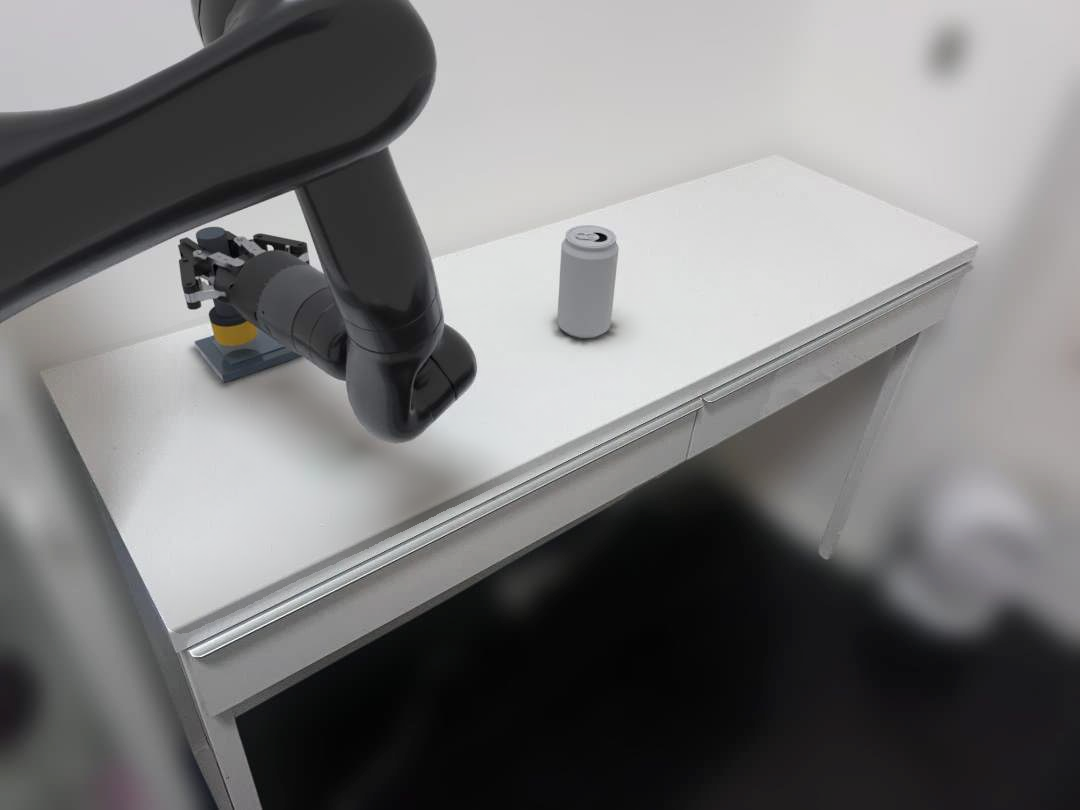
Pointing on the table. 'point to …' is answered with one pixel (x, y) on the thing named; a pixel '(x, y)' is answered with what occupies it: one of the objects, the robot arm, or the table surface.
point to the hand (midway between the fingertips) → (200, 242)
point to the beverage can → (587, 281)
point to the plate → (243, 355)
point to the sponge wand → (222, 316)
